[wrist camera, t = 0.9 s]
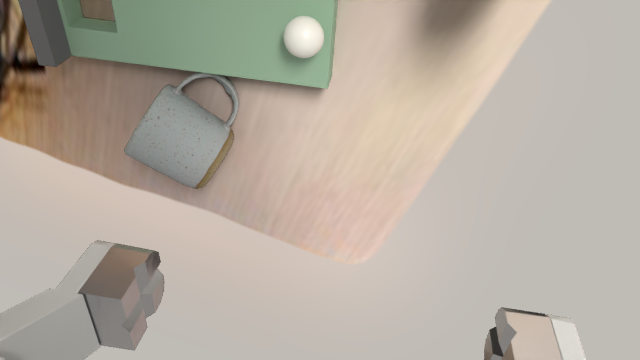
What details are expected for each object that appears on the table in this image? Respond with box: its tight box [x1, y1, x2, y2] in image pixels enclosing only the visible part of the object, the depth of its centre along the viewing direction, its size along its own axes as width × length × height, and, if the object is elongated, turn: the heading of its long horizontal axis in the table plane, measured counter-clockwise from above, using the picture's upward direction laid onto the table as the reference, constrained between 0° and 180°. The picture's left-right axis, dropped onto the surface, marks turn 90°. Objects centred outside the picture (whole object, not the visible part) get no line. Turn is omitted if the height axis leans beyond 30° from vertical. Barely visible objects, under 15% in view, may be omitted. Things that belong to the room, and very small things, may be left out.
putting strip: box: [18, 0, 338, 89], centre depth 40 cm, size 10×26×5 cm, turn 87°
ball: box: [283, 16, 324, 58], centre depth 38 cm, size 3×3×3 cm
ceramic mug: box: [124, 72, 239, 189], centre depth 46 cm, size 11×8×8 cm
